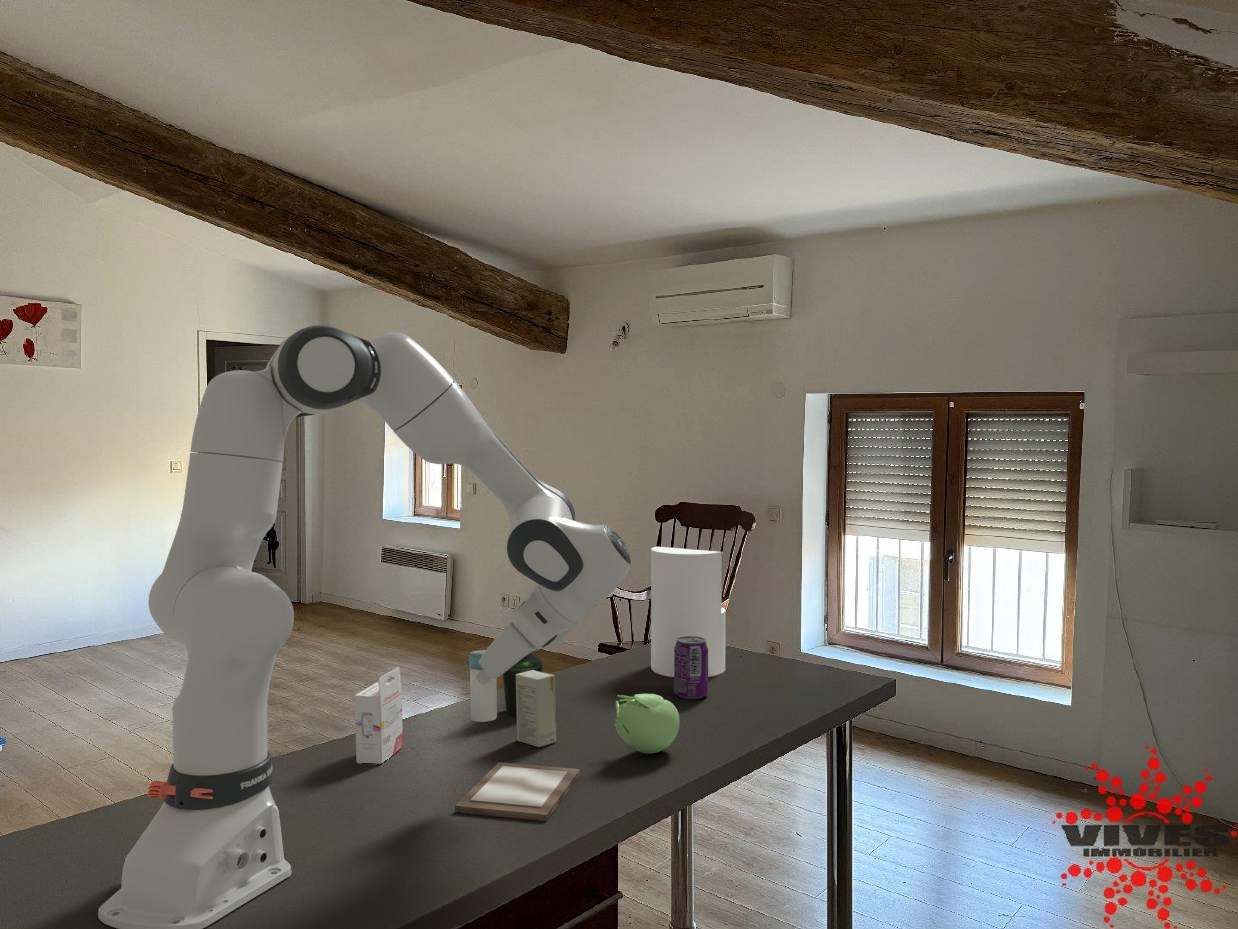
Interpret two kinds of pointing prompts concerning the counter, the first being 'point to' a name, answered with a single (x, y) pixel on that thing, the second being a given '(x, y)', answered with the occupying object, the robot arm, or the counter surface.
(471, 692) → the white bottle teal cap
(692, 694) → the beverage can
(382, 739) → the ink cartridge box
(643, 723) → the green eggplant
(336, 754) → the counter surface
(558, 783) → the writing board
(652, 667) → the cylinder
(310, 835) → the counter surface
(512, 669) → the potion bottle
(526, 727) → the skincare box
